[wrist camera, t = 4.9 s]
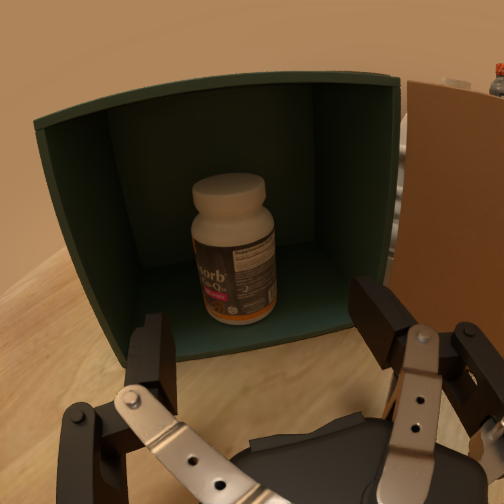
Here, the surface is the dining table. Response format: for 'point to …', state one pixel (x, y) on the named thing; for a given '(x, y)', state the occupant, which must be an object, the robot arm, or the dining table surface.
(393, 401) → the robot arm
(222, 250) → the pill bottle
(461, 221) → the cupboard door
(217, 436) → the dining table surface
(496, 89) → the supplement tub
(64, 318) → the dining table surface
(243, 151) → the cupboard
